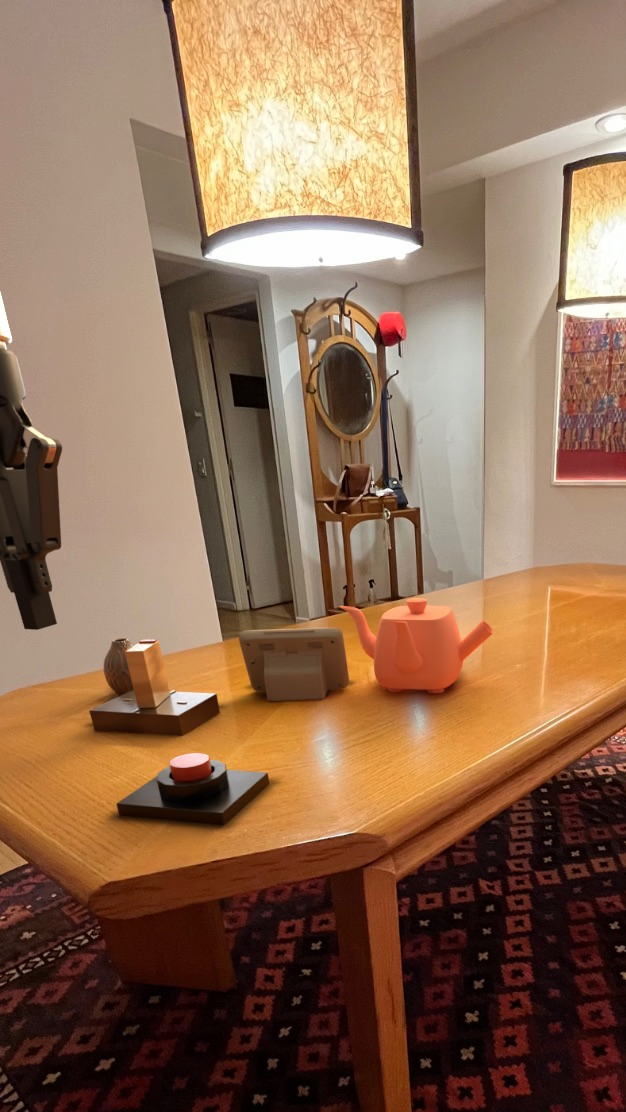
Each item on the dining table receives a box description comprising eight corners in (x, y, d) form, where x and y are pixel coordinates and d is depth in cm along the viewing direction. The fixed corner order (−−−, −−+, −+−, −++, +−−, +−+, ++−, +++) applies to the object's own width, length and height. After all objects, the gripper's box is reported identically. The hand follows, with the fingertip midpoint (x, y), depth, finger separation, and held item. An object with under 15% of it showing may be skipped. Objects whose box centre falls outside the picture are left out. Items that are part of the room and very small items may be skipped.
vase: (131, 685, 115) (119, 634, 111) (164, 688, 113) (152, 636, 109) (100, 697, 110) (86, 643, 106) (134, 700, 107) (121, 646, 103)
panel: (93, 730, 95) (88, 709, 94) (138, 708, 104) (134, 688, 103) (182, 736, 92) (177, 714, 91) (220, 712, 101) (216, 692, 100)
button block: (120, 822, 70) (111, 787, 68) (176, 782, 79) (169, 750, 77) (225, 832, 67) (218, 796, 66) (270, 790, 76) (265, 757, 74)
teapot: (402, 709, 100) (397, 615, 94) (345, 682, 114) (337, 598, 108) (497, 686, 110) (498, 599, 104) (434, 664, 123) (431, 585, 117)
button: (164, 781, 70) (161, 766, 69) (186, 766, 74) (183, 751, 73) (199, 784, 69) (196, 768, 68) (219, 769, 73) (216, 754, 72)
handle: (155, 707, 94) (142, 649, 91) (137, 708, 94) (123, 649, 90) (170, 694, 100) (158, 639, 96) (153, 695, 100) (140, 639, 96)
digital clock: (354, 686, 112) (349, 621, 107) (338, 703, 104) (331, 634, 99) (262, 684, 114) (252, 621, 109) (239, 701, 106) (228, 633, 101)
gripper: (62, 349, 59) (122, 621, 70) (-62, 354, 61) (14, 616, 72) (-7, 336, 52) (71, 638, 63) (-143, 341, 55) (-45, 631, 66)
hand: (41, 626), depth 68 cm, fingers closed
